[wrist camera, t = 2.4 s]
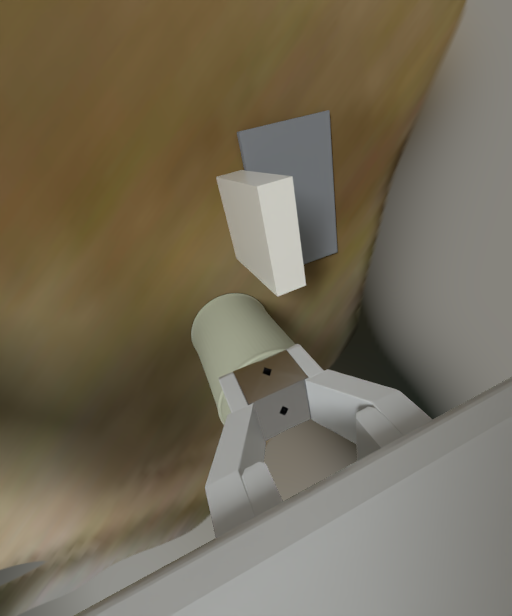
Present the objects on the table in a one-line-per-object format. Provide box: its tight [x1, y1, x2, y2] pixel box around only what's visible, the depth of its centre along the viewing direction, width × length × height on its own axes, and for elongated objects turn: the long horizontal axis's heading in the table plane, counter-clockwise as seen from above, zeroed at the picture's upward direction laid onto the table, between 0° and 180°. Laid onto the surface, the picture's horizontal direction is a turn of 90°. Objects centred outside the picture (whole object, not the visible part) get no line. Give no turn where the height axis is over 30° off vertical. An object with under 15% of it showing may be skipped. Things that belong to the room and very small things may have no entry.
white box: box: [216, 170, 306, 296], centre depth 25 cm, size 3×8×10 cm, turn 13°
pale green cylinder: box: [191, 293, 296, 425], centre depth 29 cm, size 9×9×12 cm
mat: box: [237, 110, 337, 264], centre depth 30 cm, size 9×14×1 cm, turn 13°
